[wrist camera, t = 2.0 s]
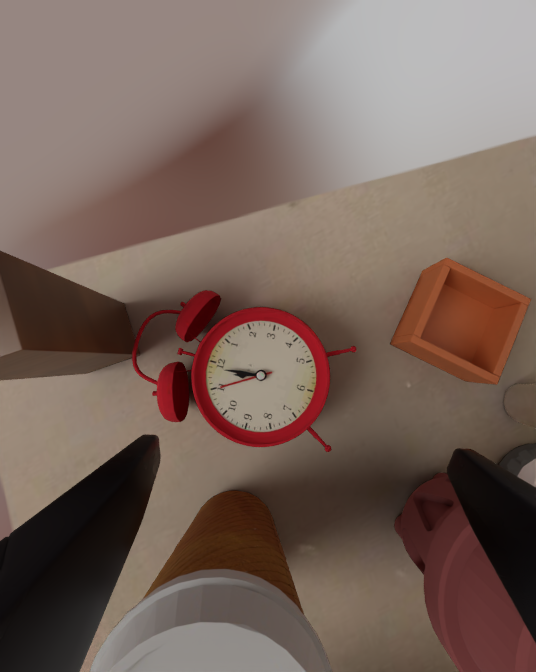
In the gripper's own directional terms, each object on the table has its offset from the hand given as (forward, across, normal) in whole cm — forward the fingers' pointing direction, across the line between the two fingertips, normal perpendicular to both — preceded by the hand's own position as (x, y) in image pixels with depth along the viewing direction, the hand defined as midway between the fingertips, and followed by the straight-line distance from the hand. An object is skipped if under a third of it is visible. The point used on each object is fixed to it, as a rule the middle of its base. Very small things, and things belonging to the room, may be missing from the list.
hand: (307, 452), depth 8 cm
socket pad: (+15, -14, 0) cm, 20 cm away
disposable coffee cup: (+8, +3, +16) cm, 18 cm away
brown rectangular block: (+14, +14, +3) cm, 20 cm away
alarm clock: (+13, +3, +4) cm, 14 cm away
